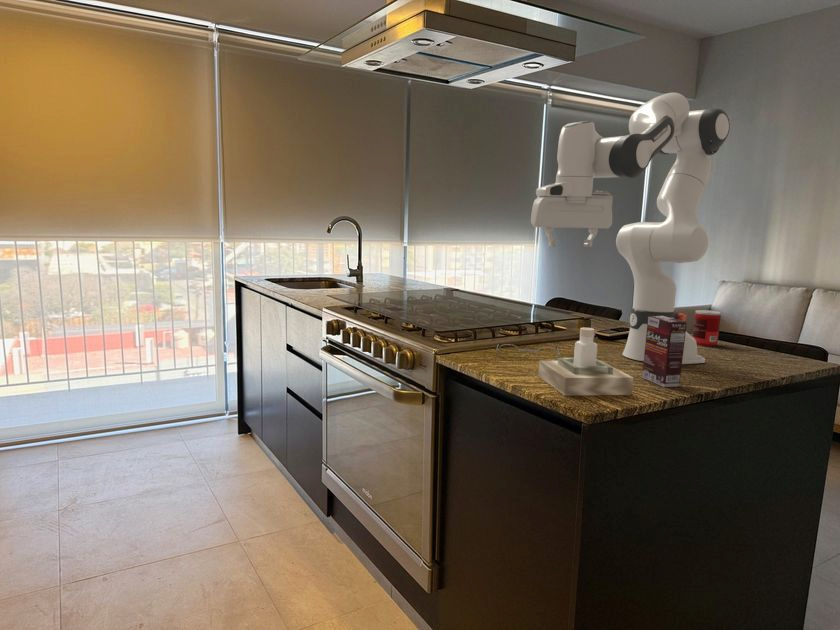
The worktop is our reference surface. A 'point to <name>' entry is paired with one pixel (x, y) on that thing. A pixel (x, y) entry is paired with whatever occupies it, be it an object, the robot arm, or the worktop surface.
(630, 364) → the worktop surface
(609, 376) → the block
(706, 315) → the canned food
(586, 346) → the pepper shaker
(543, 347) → the eyeglasses
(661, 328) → the supplement box
